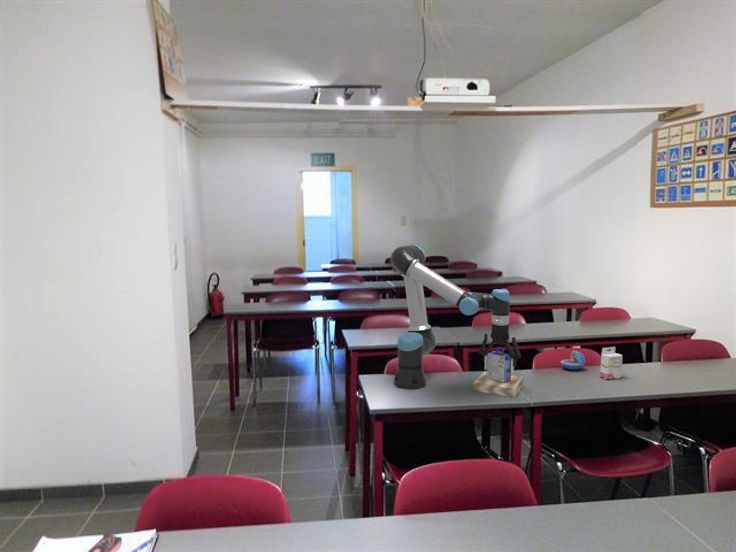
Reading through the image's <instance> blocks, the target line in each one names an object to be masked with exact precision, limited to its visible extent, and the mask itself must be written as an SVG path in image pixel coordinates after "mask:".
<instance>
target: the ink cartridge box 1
mask: <svg viewBox="0 0 736 552" xmlns="http://www.w3.org/2000/svg"><path fill="white" fill-rule="evenodd" d="M487 355H488V360H487V371H486V372H487V378H489V379H493V380H496V381H500V382H503V383H504V382H508V381H511V375H512V374H511V359H512V356H511V355H510V353H505V348H503V347H499V346H498V347H497V349H496V350H493V351H488V353H487Z"/></svg>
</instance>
